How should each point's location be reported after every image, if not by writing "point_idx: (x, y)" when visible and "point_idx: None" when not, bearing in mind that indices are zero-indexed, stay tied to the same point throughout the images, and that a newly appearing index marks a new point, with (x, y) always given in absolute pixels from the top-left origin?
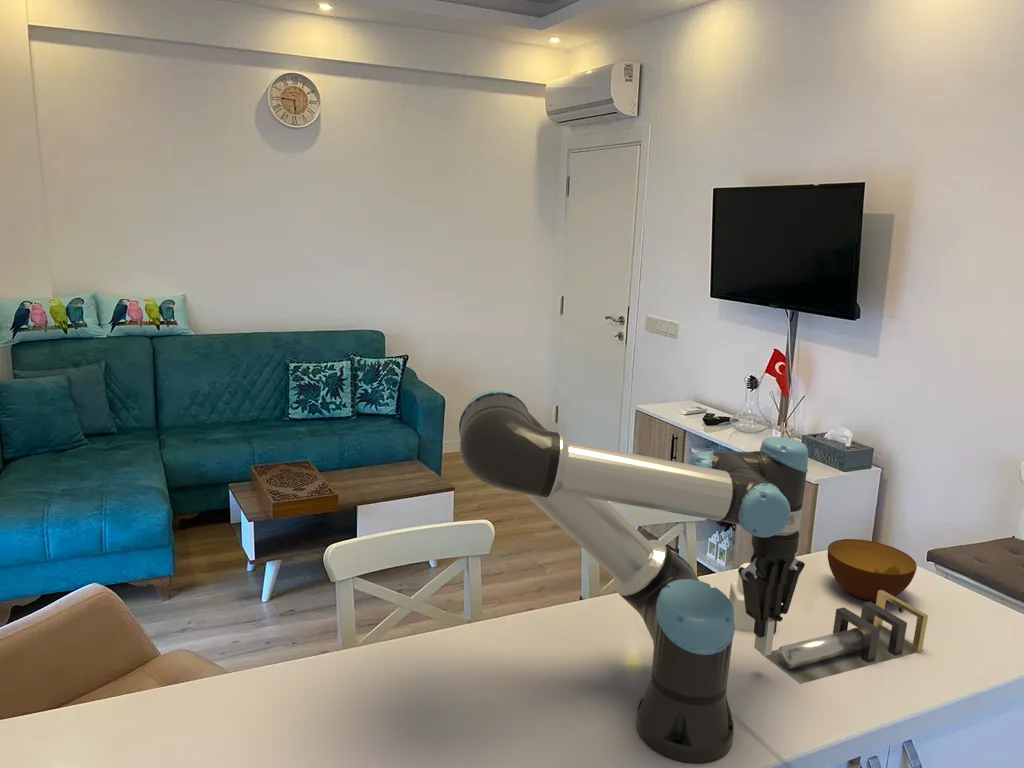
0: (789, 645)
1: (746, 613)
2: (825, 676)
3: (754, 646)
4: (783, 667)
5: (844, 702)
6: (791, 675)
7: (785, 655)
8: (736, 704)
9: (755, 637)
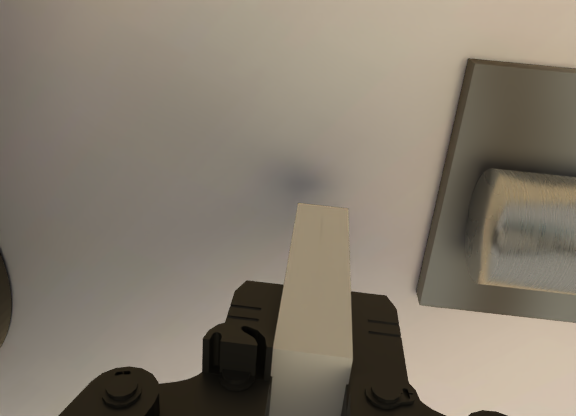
0: (540, 243)
1: (101, 378)
2: (568, 318)
3: (298, 207)
4: (466, 201)
5: (493, 398)
6: (442, 254)
7: (487, 229)
8: (114, 249)
9: (293, 236)
